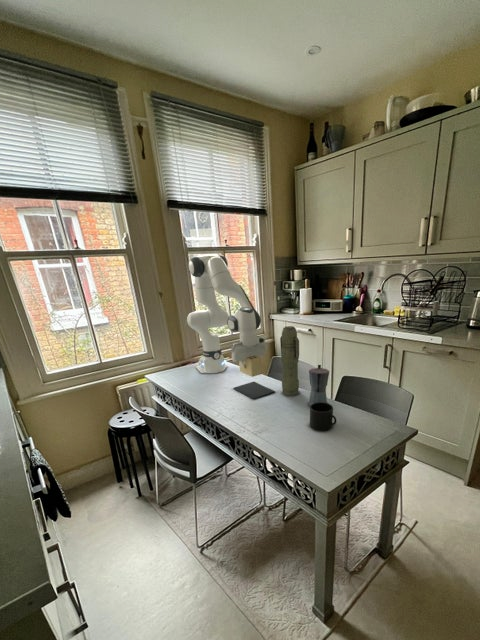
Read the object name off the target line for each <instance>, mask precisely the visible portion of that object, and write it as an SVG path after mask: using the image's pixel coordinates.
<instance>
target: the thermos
mask: <svg viewBox="0 0 480 640" xmlns="http://www.w3.org/2000/svg"><path fill="white" fill-rule="evenodd" d="M279 341H280V356H281V357H280V360H281V361H280V362H281V364H282V365H281V366H282V367H281V368H282V380H281V389H282V395H284V396H287V397H294V396H297V395H299V391H300V390H299V389H300V380H299V365H298V364H299V359H300V339H299V337H298V331H297V328H296V327H295V326H292V325H291V326H290V325H289V326H284V327H282V331H281V336H280V338H279Z"/></svg>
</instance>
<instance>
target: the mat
mask: <svg viewBox="0 0 480 640" xmlns="http://www.w3.org/2000/svg"><path fill="white" fill-rule="evenodd" d="M233 390H234V391H237V392H238V393H240V394H242V395H244V396H245V397H247V398H249V399H252V400H253V401H254V400H257V399H260V398H263V397H266V396H270V395H272V394H274V393H276V392H275V390H273V389H272V388H269V387H267V386H264V385H263V384H260V383H259V382H256V381H251V382H247V383H244V384H241V385H238V386H234V387H233Z"/></svg>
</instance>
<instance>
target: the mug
mask: <svg viewBox="0 0 480 640" xmlns="http://www.w3.org/2000/svg"><path fill="white" fill-rule="evenodd" d="M309 406H310V405H309ZM333 421H334V422H333ZM337 422H338V421H337V417H336V416H335V415H334V406H333V405H332V404H330V403H328V402H327V403H322V402H320V403H314V404H312V405H311V406H310V407H309V427H310V428H311V429H312V430H314V431H317V432H327V431H329V430H331V429H332V428H333V426H334V425H336V424H337Z"/></svg>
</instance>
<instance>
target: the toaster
mask: <svg viewBox="0 0 480 640" xmlns="http://www.w3.org/2000/svg"><path fill="white" fill-rule="evenodd" d="M243 363H244V364H245V365H246V368H242V364H241V363H240V361H239V362H238V365H239V372H240V373H242V374H245V375H246V376H249V377H251V378H253V377H256V376H260V375H263V368H262V367H263V366H262V357H261V356H260V357H258V356H255V357H250V358H247V359H246V360H244V362H243Z"/></svg>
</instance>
